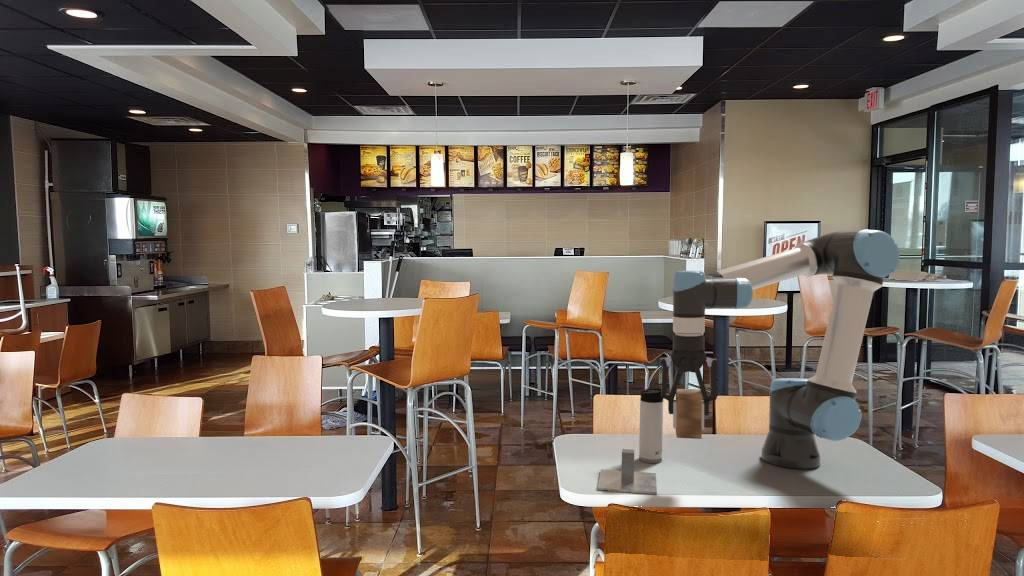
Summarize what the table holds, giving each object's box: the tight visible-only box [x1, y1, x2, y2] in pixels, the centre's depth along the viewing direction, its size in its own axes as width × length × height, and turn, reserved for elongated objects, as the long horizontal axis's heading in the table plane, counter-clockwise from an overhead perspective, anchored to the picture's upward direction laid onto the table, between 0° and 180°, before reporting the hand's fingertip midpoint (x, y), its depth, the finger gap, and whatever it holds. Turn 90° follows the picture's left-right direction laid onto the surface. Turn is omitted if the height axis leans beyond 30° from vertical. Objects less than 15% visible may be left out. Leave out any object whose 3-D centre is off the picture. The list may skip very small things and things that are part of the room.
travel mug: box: [638, 387, 664, 464], centre depth 185 cm, size 6×7×20 cm
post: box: [596, 448, 658, 495], centre depth 167 cm, size 14×14×8 cm
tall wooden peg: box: [675, 388, 703, 440], centre depth 165 cm, size 6×6×11 cm
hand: (688, 427), depth 165 cm, fingers closed on tall wooden peg, 6 cm apart
